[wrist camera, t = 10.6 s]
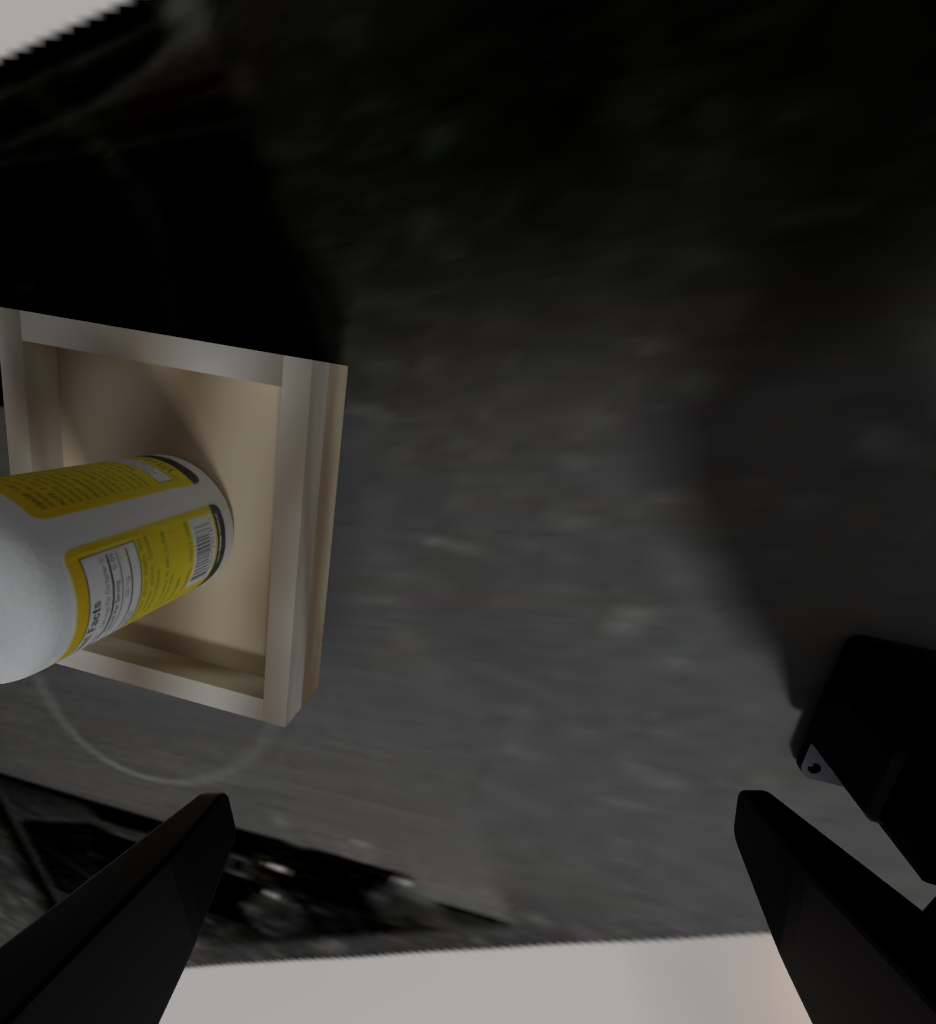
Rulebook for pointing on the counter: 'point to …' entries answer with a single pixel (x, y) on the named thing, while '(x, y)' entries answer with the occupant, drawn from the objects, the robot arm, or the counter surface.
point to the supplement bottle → (100, 551)
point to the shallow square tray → (227, 462)
